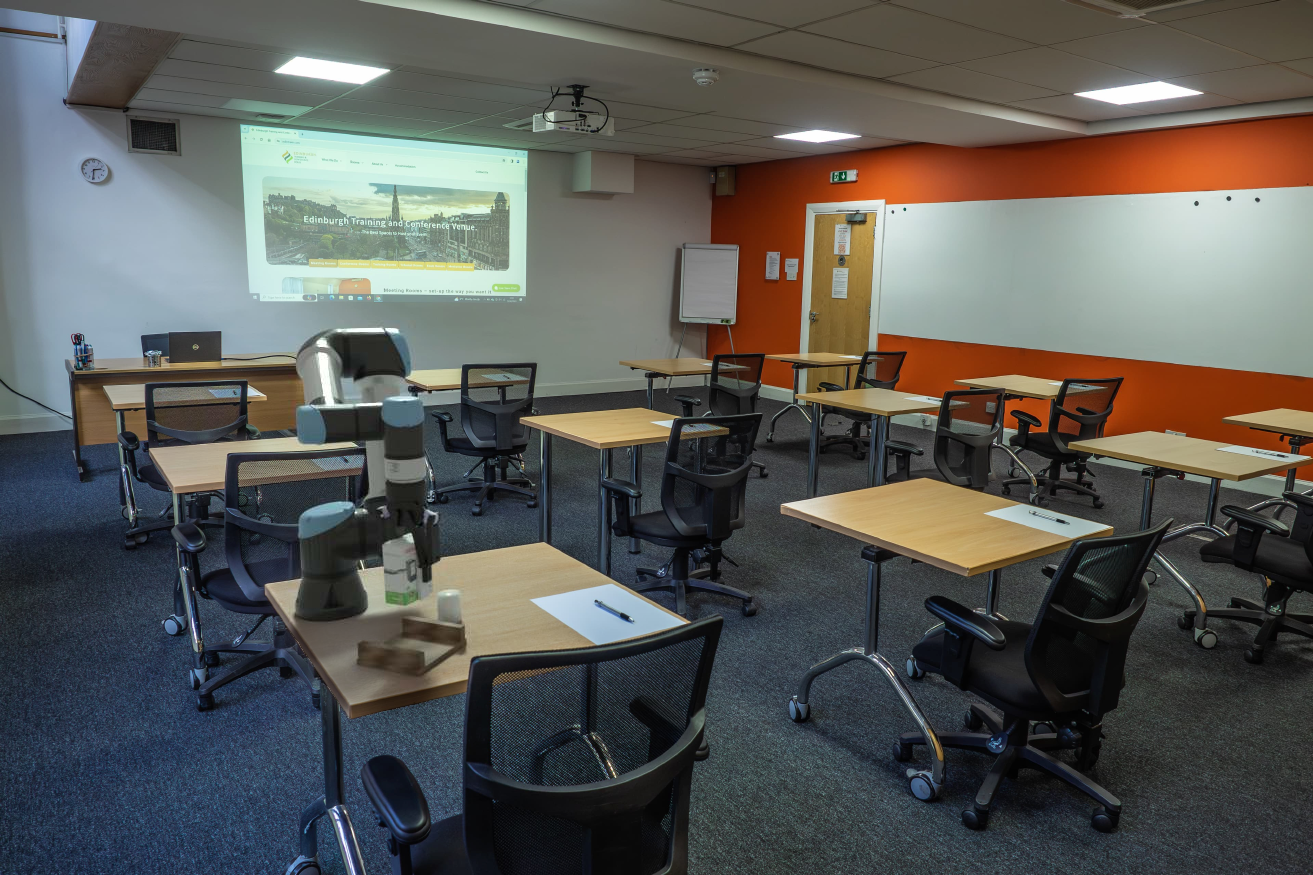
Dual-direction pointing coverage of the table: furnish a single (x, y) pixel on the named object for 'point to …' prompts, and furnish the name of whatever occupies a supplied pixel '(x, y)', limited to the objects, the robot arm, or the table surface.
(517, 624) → the table surface
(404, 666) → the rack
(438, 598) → the white cylinder
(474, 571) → the table surface
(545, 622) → the table surface
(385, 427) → the robot arm
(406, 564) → the ink box
